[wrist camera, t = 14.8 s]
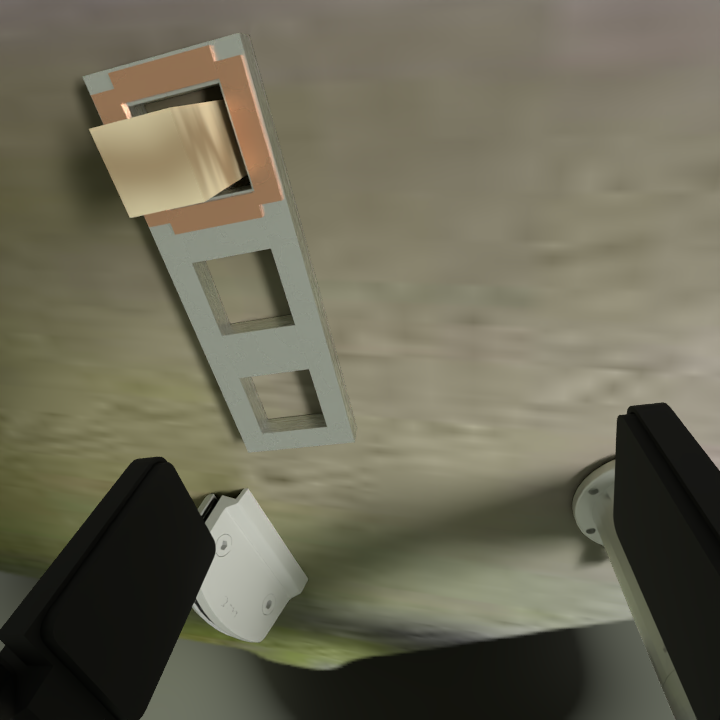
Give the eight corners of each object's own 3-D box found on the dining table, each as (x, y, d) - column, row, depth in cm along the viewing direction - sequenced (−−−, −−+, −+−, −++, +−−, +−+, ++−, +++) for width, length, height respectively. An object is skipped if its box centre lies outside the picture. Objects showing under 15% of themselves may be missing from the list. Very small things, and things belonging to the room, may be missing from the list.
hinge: (309, 581, 56) (263, 668, 49) (279, 573, 58) (232, 655, 51) (246, 485, 48) (180, 573, 41) (215, 481, 50) (147, 563, 43)
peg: (248, 173, 31) (204, 201, 25) (188, 187, 32) (130, 218, 25) (225, 99, 29) (169, 107, 22) (161, 115, 30) (88, 128, 23)
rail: (356, 427, 42) (354, 444, 40) (254, 437, 44) (247, 454, 42) (249, 35, 27) (237, 32, 25) (101, 76, 29) (79, 76, 27)
